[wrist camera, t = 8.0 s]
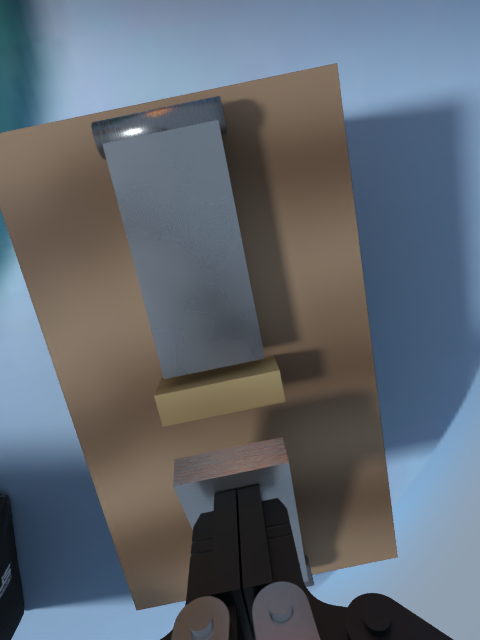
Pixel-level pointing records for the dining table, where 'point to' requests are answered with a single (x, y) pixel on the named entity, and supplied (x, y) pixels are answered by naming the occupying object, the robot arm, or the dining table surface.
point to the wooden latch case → (226, 382)
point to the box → (9, 575)
